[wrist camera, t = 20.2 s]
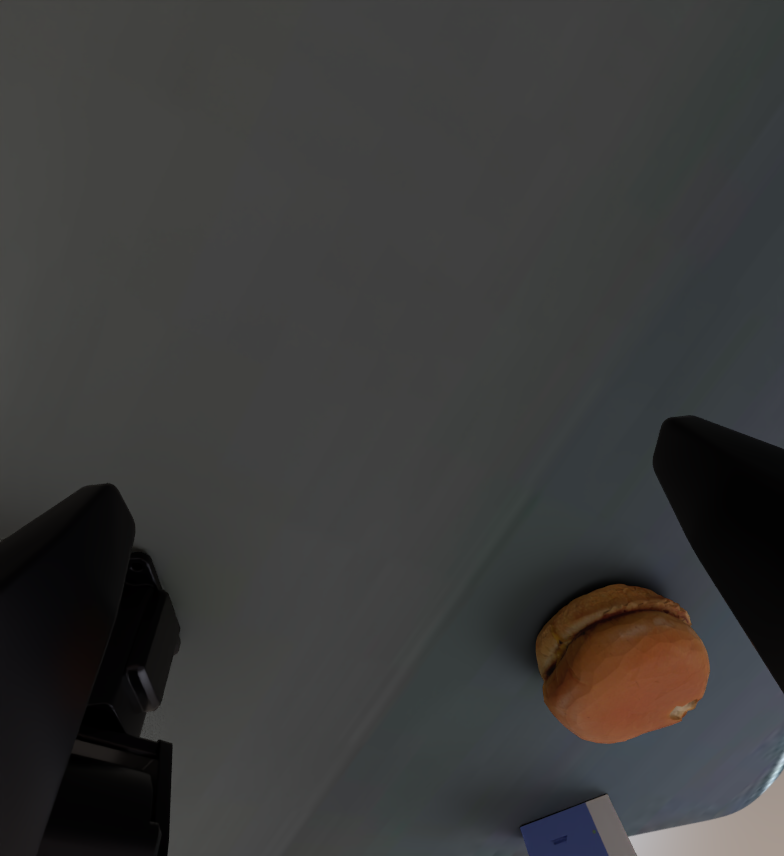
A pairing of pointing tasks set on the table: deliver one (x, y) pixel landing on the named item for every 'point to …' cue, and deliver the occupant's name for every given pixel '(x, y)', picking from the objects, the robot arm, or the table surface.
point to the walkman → (579, 832)
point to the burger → (620, 664)
